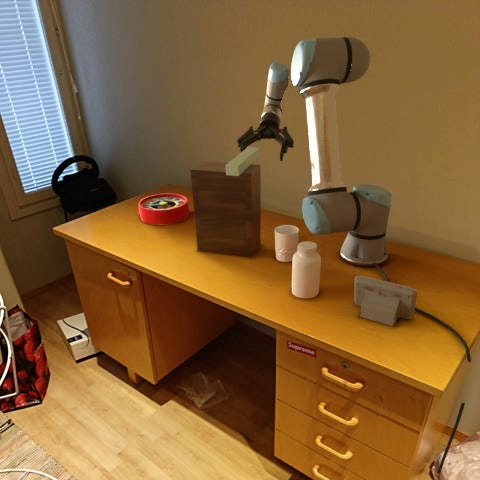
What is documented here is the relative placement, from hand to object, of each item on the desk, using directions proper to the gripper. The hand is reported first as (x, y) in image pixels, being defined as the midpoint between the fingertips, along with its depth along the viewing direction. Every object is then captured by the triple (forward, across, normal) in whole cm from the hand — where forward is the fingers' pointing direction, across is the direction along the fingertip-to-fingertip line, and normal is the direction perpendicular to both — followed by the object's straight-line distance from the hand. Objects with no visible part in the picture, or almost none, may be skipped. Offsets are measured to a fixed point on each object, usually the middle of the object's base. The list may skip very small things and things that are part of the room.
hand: (261, 157), depth 155 cm
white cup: (+31, -12, -16) cm, 37 cm away
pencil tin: (+14, +3, +8) cm, 17 cm away
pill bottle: (+51, -20, -8) cm, 55 cm away
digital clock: (+59, -41, -6) cm, 72 cm away
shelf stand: (+27, +8, -18) cm, 33 cm away
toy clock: (+2, +42, -27) cm, 50 cm away
